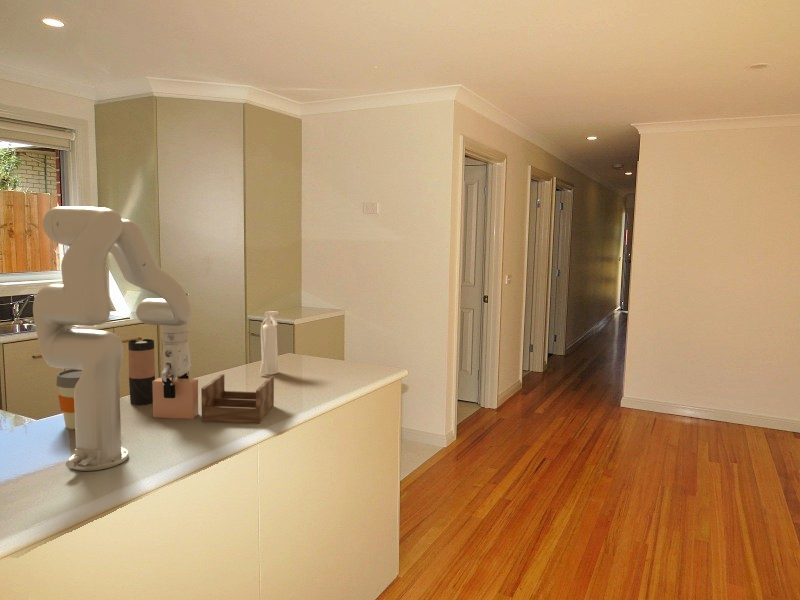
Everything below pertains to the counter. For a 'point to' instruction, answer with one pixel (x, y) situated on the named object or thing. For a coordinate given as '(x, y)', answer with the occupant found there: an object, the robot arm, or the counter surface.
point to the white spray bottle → (269, 344)
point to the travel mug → (141, 371)
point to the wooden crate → (236, 403)
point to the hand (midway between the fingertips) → (176, 392)
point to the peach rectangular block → (176, 399)
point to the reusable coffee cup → (68, 394)
